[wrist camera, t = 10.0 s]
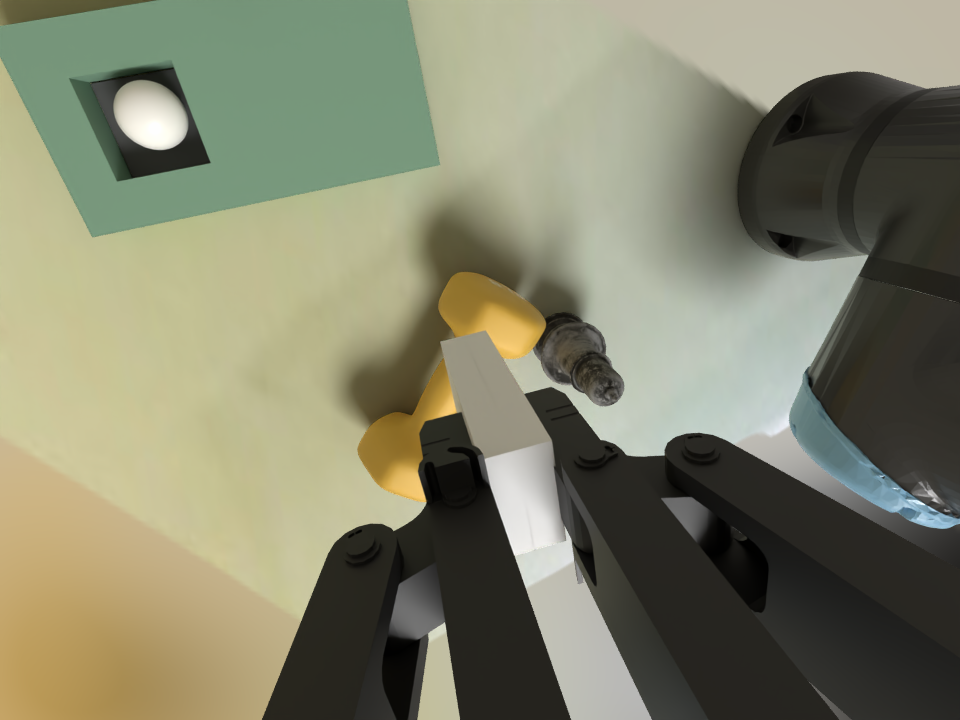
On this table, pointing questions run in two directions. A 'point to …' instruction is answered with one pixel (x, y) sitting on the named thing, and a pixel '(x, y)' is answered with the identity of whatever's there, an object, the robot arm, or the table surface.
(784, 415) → the table surface
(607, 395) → the dark grey chess piece
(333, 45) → the green
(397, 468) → the dumbbell
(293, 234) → the table surface
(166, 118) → the ball
